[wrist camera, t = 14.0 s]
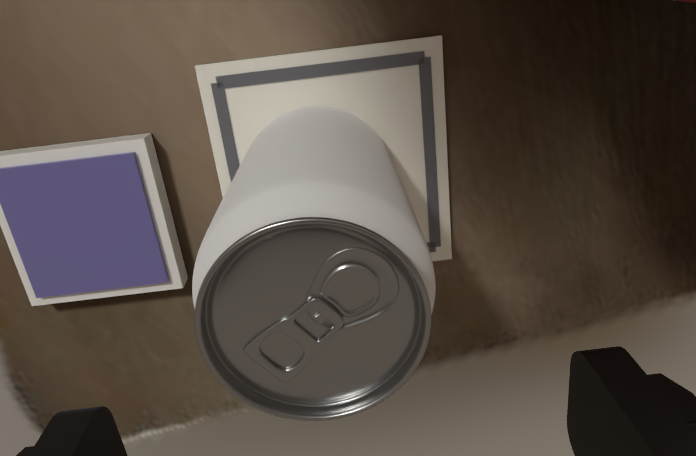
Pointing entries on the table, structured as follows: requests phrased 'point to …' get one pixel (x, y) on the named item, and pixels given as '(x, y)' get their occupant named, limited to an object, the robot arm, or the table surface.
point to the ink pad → (89, 220)
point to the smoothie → (687, 0)
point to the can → (314, 272)
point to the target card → (350, 95)
